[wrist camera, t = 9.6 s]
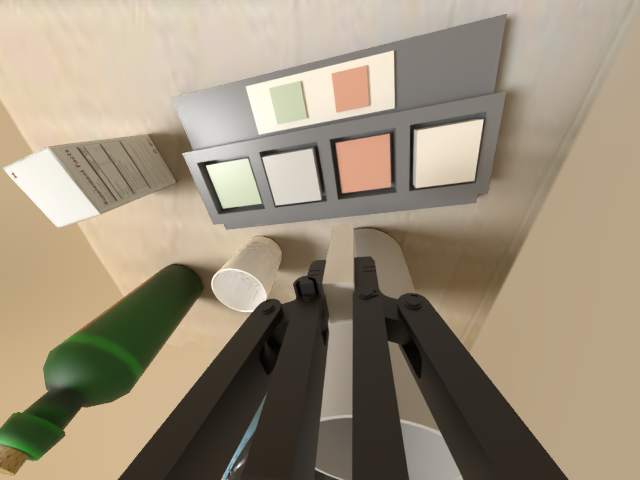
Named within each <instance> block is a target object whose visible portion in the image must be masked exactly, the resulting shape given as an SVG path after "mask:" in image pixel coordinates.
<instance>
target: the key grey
mask: <svg viewBox="0 0 640 480" xmlns="http://www.w3.org/2000/svg"><path fill="white" fill-rule="evenodd" d="M262 159H263V162H264V166H265V169H266V173H267V176H268V180H269V183H270V187H271V190H272V194H273V197H274V201H275V204H276V206H277V205H285V204H293V203H301V202H309V201H317V200H322V197H323V193H322V188H321V182H320V176H319V170H318V165H317V159H316V153H315V147H309V148H304V149H298V150H292V151H286V152H281V153H275V154H269V155H266V156H264V157H262Z"/></svg>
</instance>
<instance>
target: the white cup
mask: <svg viewBox="0 0 640 480" xmlns="http://www.w3.org/2000/svg"><path fill="white" fill-rule="evenodd" d="M281 260H282V251H281V250H280V248H279V246H278V244H276V243H275V242H274V241H273V240H271V239H269V238H266V237H263V236H258V237H253V238H251V239H250V240H248V241H247V242H246V243H245V244H244V245H243V246H242V247H241V248H240V249H239V250H238V251H237V252H236V253H235V254H234V255H233V256H232V257H231V258H230V259H229V260H228V261H227V262H226V263H225V264H224V265H223V266H222V267H221V268H220V270H219V271H218V272H217V273H216V274H215V275H214V276H213V278H212V281H211V286H212V290H213V292H214V294H215V296H216V297H217V298H218V300H219V301H221V302H222V303H223V304H224V305H226V306H227V307H229V308H231V309H234V310H237V311H241V312H253V311H254V310H255V308H256V307H257V306H258V305H259V304H260V303H262V302H263V301H265V300H267V298H268V295H269V293H270V290H271V288H272V285H273V283H274V280H275V277H276V274H277V272H278V268H279V265H280V263H281Z"/></svg>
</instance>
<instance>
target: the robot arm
mask: <svg viewBox="0 0 640 480" xmlns="http://www.w3.org/2000/svg"><path fill="white" fill-rule="evenodd" d="M293 286H294V290H295V293H296V299H295V300H294V301H291V302H288V303H284V304H281V303H280V301H279V300H276V299H269V300H265V301H263V302H262V303H260V304H259V305H258V306H257V307H256V308H255V310H254V311H253V312H252V313H251V315H250V316H249V317H248V318H247V320H246V321H245V322H244V323H243V325H242V326H241V327H240V328H239V330H238V331H237V332H236V333H235V334H234V336H233V337H232V338H231V339H230V341H229V342H228V343H227V344H226V346H225V347H224V348H223V349H222V351H221V352H220V353H219V354H218V356H217V357H216V358H215V359H214V361H213V362H212V363H211V364H210V366H209V367H208V368H207V369H206V371H205V372H204V373H203V374H202V376H201V377H200V378H199V379H198V381H197V382H196V383H195V384H194V386H193V387H192V388H191V389H190V391H189V392H188V393H187V394H186V395H185V397H184V398H183V399H182V400H181V402H180V403H179V404H178V405H177V407H176V408H175V409H174V411H173V412H172V413H171V414H170V415H169V417H168V418H167V419H166V421H165V422H164V423H163V424H162V425H161V427H160V428H159V429H158V430H157V432H156V433H155V434H154V435H153V437H152V438H151V439H150V440H149V442H148V443H147V444H146V445H145V447H144V448H143V449H142V450H141V452H140V453H139V454H138V455H137V457H136V458H135V459H134V460H133V462H132V463H131V464H130V465H129V466H128V468H127V469H126V470H125V472H124V473H123V474H122V475H121V476H120V478H119V479H118V480H221V479H222V477H223V479H224V480H227V478H228V480H339V479H336V478H333V477H331V476H328V475H326V474H324V473H321V472H319V471H317V470H315V465H316V456H317V446H318V437H319V427H320V417H321V408H322V398H323V389H324V379H325V370H326V360H327V350H328V341H329V327H328V321H330V324H352V323H353V363H352V480H409V474H408V468H407V462H406V455H405V449H404V442H403V436H402V429H401V423H400V416H399V410H398V403H397V397H396V390H395V384H394V377H393V371H392V364H391V358H390V351H389V345H388V341H390V342H393V343H397V344H398V346H399V348H400V350H401V352H402V354H403V356H404V358H405V360H406V362H407V364H408V367H409V369H410V371H411V373H412V375H413V377H414V379H415V381H416V383H417V385H418V387H419V389H420V391H421V393H422V395H423V397H424V399H425V402H426V404H427V406H428V408H429V410H430V412H431V414H432V416H433V418H434V420H435V422H436V424H437V426H438V428H439V430H440V432H441V434H442V436H443V439H444V441H445V443H446V445H447V447H448V449H449V451H450V453H451V455H452V457H453V459H454V461H455V463H456V465H457V467H458V469H459V471H460V474H461V476H462V478H463V480H568V478H567V477H566V476H565V475H564V473H563V472H562V471H561V469H560V468H559V467H558V466H557V464H556V463H555V462H554V460H553V459H552V458H551V457H550V455H549V454H548V453H547V452H546V450H545V449H544V448H543V447H542V445H541V444H540V443H539V441H538V440H537V439H536V438H535V436H534V435H533V434H532V432H531V431H530V430H529V429H528V427H527V426H526V425H525V424H524V422H523V421H522V420H521V419H520V417H519V416H518V415H517V413H516V412H515V411H514V409H513V408H512V407H511V406H510V404H509V403H508V402H507V401H506V399H505V398H504V397H503V396H502V394H501V393H500V392H499V390H498V389H497V388H496V387H495V385H494V384H493V383H492V381H491V380H490V379H489V378H488V376H487V375H486V374H485V373H484V371H483V370H482V369H481V367H480V366H479V365H478V364H477V362H476V361H475V360H474V359H473V357H472V356H471V355H470V353H469V352H468V351H467V350H466V348H465V347H464V346H463V344H462V343H461V342H460V341H459V339H458V338H457V337H456V336H455V334H454V333H453V332H452V330H451V329H450V328H449V327H448V325H447V324H446V323H445V322H444V320H443V319H442V318H441V316H440V315H439V314H438V313H437V311H436V310H435V309H434V308H433V306H432V305H431V304H430V302H429V301H428V300H427V299H426V298H425V297H423V296H421V295H419V294H415V293H406V294H403V295H401V296H400V297H399V298H398V299H396V298H391V297H388V296H386V295H384V294H383V293H382V292H381V291H380V289H379V285H378V279H377V272H376V266H375V260H374V259H373V258H372V257H371V256H366V257H356V247H355V238H354V228H353V224H352V225H342V226H333V227H332V232H331V238H330V243H329V249H328V254H327V260H316V261H314V262H313V263H312V264H311V265H310V268H309V272H308V275H307V276H303V277H300V278H298V279H297V280H296V281H295V282H294V283H293Z"/></svg>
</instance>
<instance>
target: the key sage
mask: <svg viewBox="0 0 640 480" xmlns="http://www.w3.org/2000/svg"><path fill="white" fill-rule="evenodd" d="M206 168H207V170H208V173H209V175H210V178H211V180H212V182H213V185H214V187H215V190H216V192H217V195H218V197H219V200H220V202H221V205H222V207H223V209H224V208H231V207H239V206H247V205H255V204H262V203H263V201H262V197H261V194H260V191H259V188H258V184H257V181H256V178H255V175H254V171H253V168H252V165H251V162H250V159H249V157H244V158H238V159H232V160H227V161H221V162H215V163H211V164H208V165H206Z"/></svg>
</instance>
